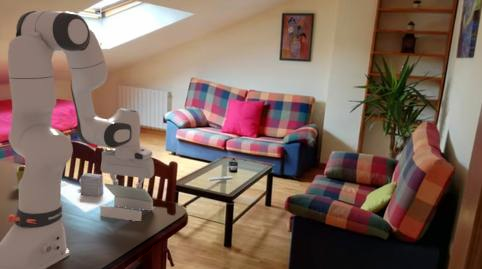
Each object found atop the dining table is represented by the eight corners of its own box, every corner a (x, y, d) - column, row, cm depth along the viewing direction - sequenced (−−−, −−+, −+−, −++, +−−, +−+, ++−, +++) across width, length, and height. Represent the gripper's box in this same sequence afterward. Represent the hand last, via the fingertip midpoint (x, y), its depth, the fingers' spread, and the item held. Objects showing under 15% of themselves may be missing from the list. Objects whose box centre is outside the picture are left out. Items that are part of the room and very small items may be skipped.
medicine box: (102, 193, 171) (103, 174, 169) (98, 197, 167) (98, 177, 165) (85, 191, 172) (85, 172, 170) (80, 194, 167) (80, 175, 166)
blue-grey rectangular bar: (137, 218, 149) (137, 212, 149) (113, 214, 150) (113, 208, 150) (140, 215, 152) (141, 209, 152) (116, 212, 153) (116, 206, 153)
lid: (144, 191, 146) (144, 189, 146) (104, 185, 148) (105, 183, 148) (152, 201, 156) (153, 199, 156) (115, 196, 158) (115, 194, 158)
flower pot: (18, 186, 171) (18, 166, 169) (40, 184, 175) (40, 165, 173) (16, 192, 163) (16, 172, 162) (40, 191, 167) (39, 171, 165)
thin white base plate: (140, 222, 145) (140, 212, 144) (100, 216, 147) (100, 206, 147) (152, 210, 157) (152, 201, 156) (115, 205, 159) (115, 195, 158)
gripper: (97, 150, 144) (97, 185, 147) (149, 156, 141) (148, 192, 144) (106, 146, 150) (106, 180, 153) (156, 152, 147) (155, 187, 150)
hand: (127, 186), depth 149 cm, fingers open, 8 cm apart
